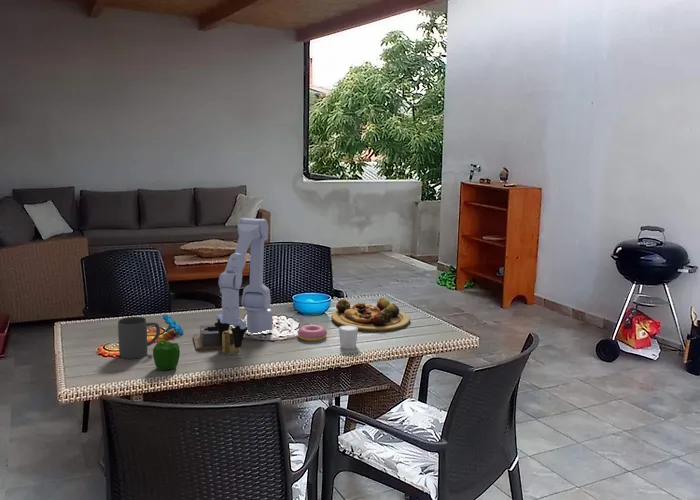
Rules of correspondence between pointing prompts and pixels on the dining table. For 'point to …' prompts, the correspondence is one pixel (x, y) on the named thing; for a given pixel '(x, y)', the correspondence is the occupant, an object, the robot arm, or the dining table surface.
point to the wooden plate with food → (370, 316)
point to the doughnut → (312, 332)
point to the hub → (208, 338)
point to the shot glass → (348, 336)
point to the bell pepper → (166, 355)
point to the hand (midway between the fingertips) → (231, 344)
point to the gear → (172, 324)
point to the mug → (134, 337)
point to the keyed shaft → (228, 342)
